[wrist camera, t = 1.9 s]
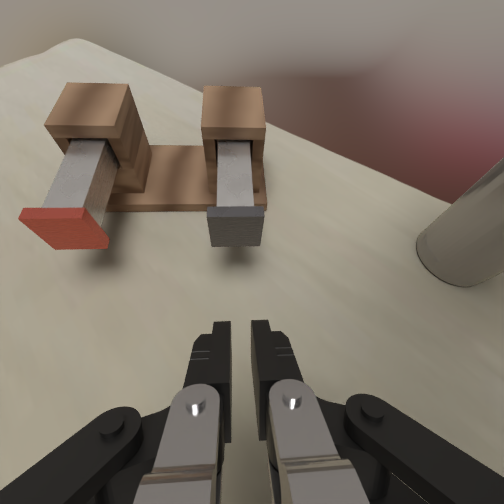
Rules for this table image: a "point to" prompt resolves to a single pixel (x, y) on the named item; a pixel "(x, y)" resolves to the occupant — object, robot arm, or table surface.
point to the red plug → (77, 198)
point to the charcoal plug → (235, 199)
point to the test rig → (162, 156)
